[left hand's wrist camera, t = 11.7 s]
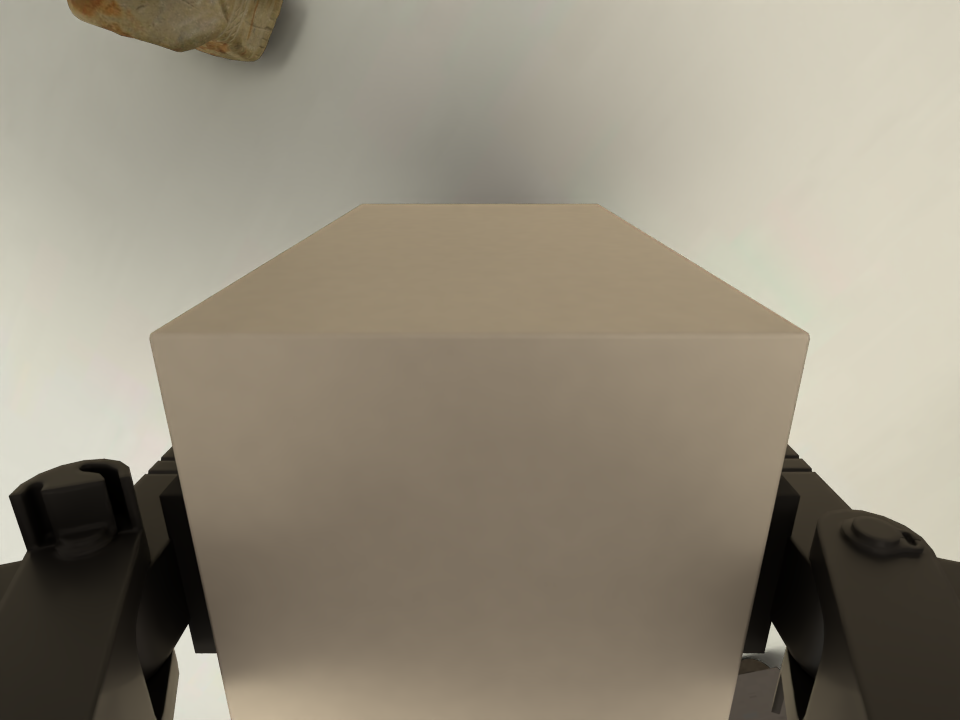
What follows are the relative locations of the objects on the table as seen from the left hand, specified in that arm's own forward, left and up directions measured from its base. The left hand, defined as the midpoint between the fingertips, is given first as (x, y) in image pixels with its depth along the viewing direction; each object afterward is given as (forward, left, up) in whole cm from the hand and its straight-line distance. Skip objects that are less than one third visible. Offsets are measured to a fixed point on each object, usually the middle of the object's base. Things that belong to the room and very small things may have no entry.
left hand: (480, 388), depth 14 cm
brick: (0, 0, -4) cm, 4 cm away
